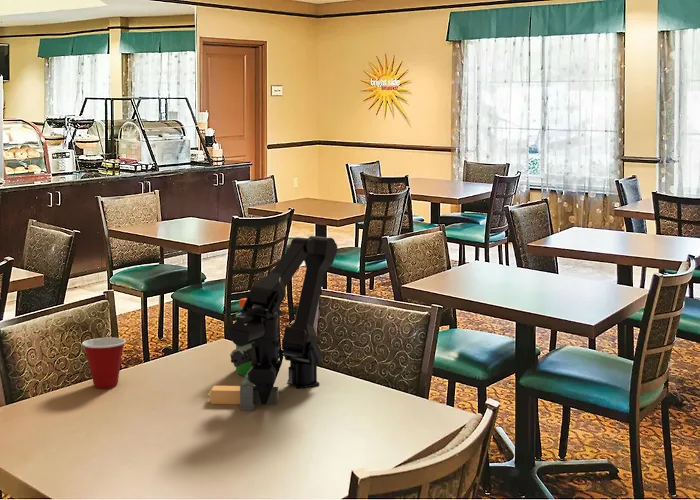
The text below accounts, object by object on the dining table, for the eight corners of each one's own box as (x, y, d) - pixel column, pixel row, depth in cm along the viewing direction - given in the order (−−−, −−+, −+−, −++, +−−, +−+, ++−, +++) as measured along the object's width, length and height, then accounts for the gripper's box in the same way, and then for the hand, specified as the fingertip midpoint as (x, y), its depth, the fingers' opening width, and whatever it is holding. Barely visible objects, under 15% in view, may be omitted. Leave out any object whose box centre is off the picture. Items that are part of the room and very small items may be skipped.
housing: (260, 393, 198) (259, 371, 197) (253, 410, 187) (252, 387, 186) (248, 393, 198) (247, 371, 197) (240, 410, 187) (240, 387, 186)
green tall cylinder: (262, 377, 210) (261, 305, 206) (230, 375, 211) (229, 303, 208) (273, 365, 220) (273, 296, 216) (243, 363, 221) (242, 294, 218)
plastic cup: (131, 377, 209) (129, 334, 207) (123, 391, 198) (121, 346, 196) (89, 378, 208) (87, 334, 206) (79, 392, 197) (77, 346, 195)
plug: (278, 400, 194) (278, 386, 193) (276, 405, 190) (276, 391, 190) (210, 398, 194) (209, 385, 194) (207, 403, 191) (206, 390, 190)
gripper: (239, 325, 199) (240, 384, 201) (225, 346, 180) (226, 411, 183) (283, 325, 198) (283, 384, 201) (273, 347, 180) (274, 412, 183)
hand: (266, 397), depth 192 cm, fingers open, 9 cm apart
